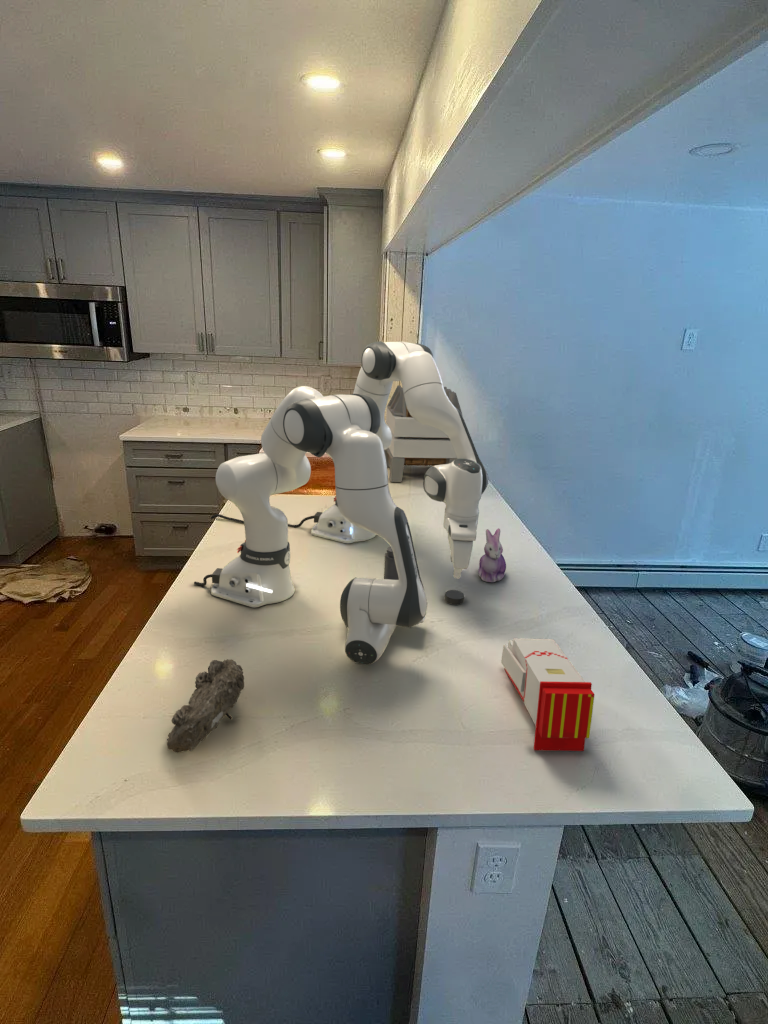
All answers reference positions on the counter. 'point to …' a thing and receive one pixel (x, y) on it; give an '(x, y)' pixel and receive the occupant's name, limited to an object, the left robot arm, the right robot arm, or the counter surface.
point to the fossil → (206, 705)
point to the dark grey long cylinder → (390, 566)
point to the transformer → (415, 438)
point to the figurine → (492, 559)
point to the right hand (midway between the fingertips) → (455, 569)
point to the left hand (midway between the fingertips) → (392, 591)
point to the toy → (550, 693)
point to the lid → (454, 597)
